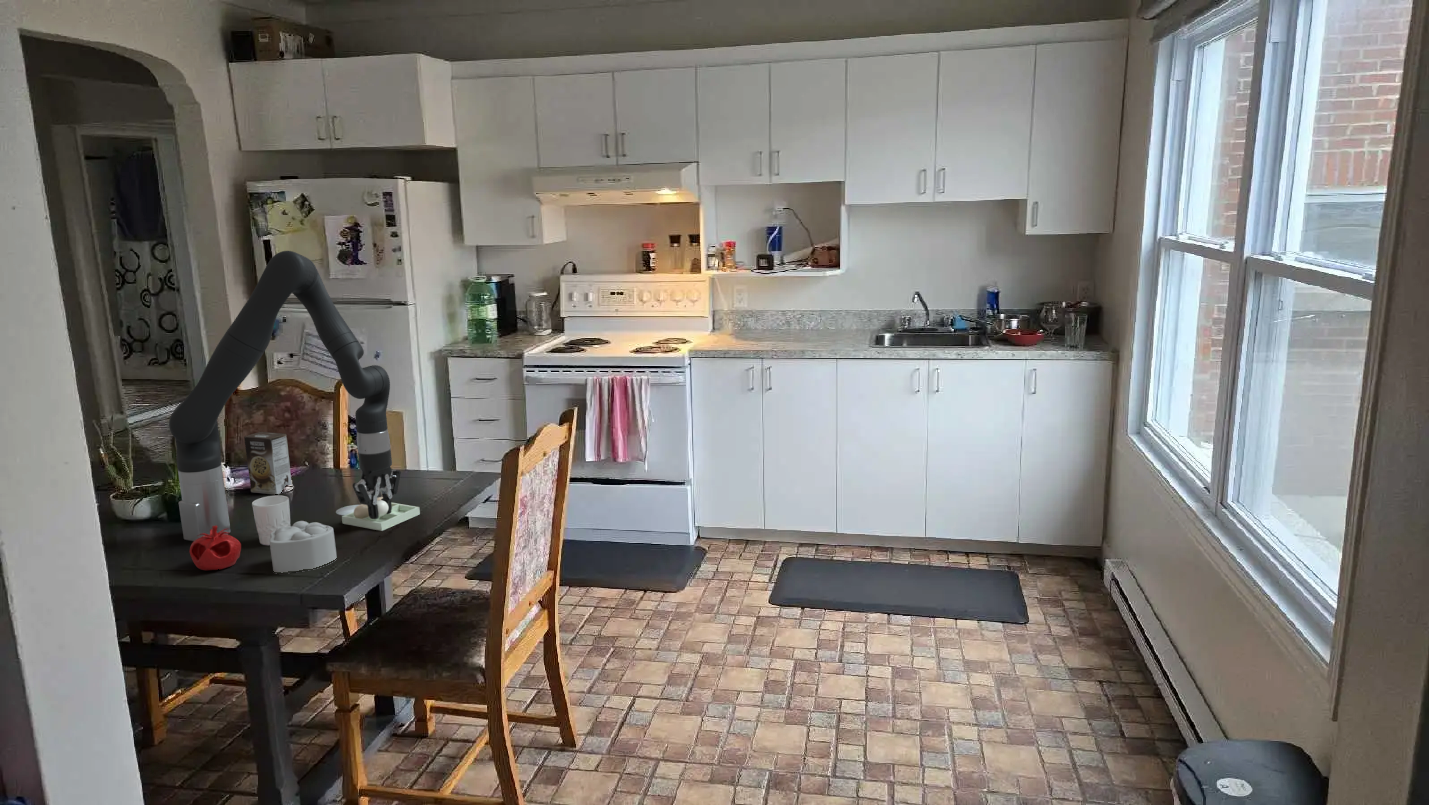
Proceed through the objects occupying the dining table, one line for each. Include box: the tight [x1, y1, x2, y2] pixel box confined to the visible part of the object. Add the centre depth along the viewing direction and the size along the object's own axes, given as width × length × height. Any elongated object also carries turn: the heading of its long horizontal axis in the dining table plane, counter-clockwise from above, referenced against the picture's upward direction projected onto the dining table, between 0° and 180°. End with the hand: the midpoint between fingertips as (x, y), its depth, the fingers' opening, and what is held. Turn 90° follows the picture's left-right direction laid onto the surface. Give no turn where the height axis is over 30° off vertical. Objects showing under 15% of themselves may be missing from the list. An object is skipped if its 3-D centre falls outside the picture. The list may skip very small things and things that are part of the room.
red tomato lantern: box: [189, 525, 242, 571], centre depth 205 cm, size 10×10×9 cm
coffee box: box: [243, 431, 293, 495], centre depth 257 cm, size 9×6×16 cm
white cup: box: [251, 494, 292, 546], centre depth 220 cm, size 8×8×10 cm
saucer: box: [335, 504, 359, 516], centre depth 239 cm, size 8×8×1 cm
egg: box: [377, 500, 389, 516], centre depth 227 cm, size 4×4×4 cm
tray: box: [341, 496, 421, 532], centre depth 232 cm, size 13×13×5 cm
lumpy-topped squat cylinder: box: [269, 520, 337, 573], centre depth 206 cm, size 10×13×9 cm
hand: (380, 515), depth 228 cm, fingers closed on egg, 3 cm apart
